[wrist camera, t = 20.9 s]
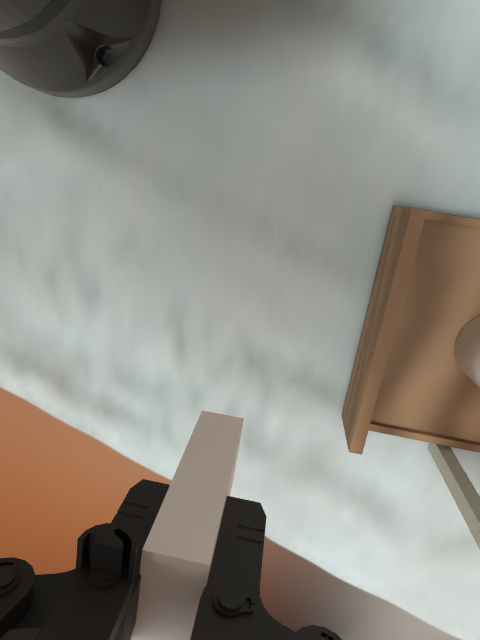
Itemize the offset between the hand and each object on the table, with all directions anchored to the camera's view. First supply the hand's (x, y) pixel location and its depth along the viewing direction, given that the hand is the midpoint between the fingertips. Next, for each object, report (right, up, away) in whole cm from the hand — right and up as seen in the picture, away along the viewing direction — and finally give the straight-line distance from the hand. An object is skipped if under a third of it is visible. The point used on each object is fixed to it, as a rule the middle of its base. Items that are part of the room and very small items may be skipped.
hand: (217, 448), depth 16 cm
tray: (+21, +3, +22) cm, 30 cm away
